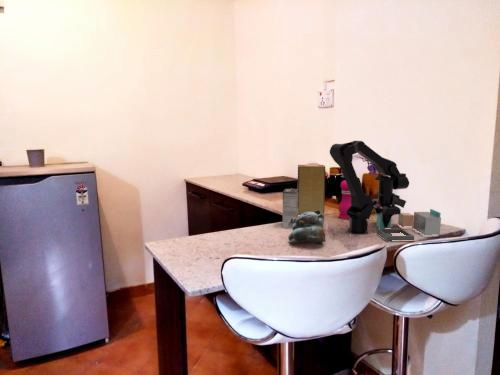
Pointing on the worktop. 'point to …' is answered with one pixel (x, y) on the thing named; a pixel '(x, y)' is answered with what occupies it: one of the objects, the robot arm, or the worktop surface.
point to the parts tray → (388, 236)
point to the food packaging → (311, 188)
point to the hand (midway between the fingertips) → (383, 225)
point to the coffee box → (290, 206)
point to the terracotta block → (405, 219)
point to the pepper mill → (345, 201)
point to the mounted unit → (427, 222)
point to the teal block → (380, 222)
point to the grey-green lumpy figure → (308, 228)
